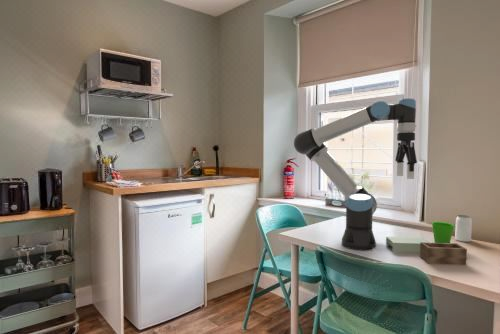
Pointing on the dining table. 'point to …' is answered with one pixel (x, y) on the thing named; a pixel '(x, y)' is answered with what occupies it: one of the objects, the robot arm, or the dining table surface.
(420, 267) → the dining table surface
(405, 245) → the lid
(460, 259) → the box
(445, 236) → the cup
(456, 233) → the can
